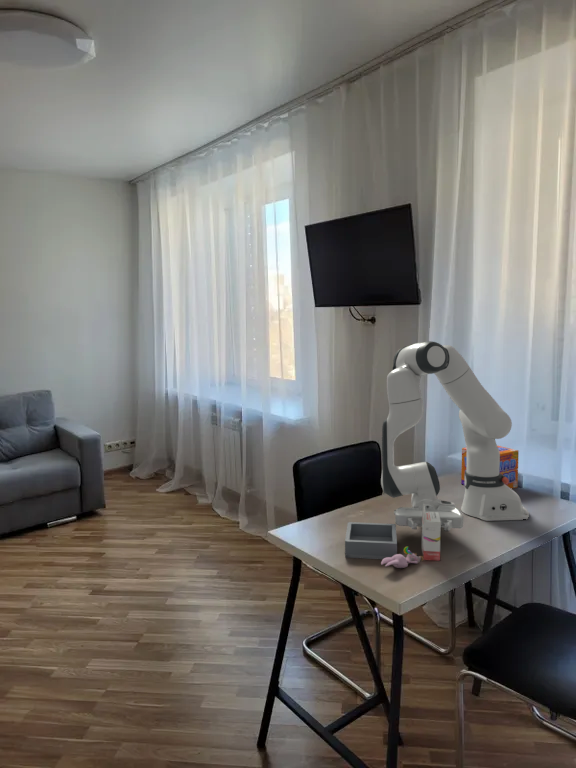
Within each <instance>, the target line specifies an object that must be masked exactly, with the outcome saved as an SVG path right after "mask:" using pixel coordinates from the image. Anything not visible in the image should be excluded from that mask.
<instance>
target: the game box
mask: <svg viewBox="0 0 576 768" xmlns="http://www.w3.org/2000/svg"><path fill="white" fill-rule="evenodd" d="M497 447H498V449H499V452H500V467H499V473H501V474H502V475H504V476H505V477H507V478H508V480H509V483H508V484H505V485H507V486H508V487H509V488H514V489H517V488H518V483H519V481H518V480H519V479H518V478H519V452H520V451H519V450H518V449H514V448H508V447H506V446H501V445H497ZM466 465H467V451H466V446H465V447H462V448H461V469H460V470H461V471H460V472H461V473H460V475H461V477H460V478H461V480H460V481H461V482H460V483H461V485H462V484H463V486H465V471H466Z"/></svg>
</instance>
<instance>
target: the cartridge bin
mask: <svg viewBox="0 0 576 768" xmlns="http://www.w3.org/2000/svg"><path fill="white" fill-rule="evenodd" d="M345 532H346V533H345V539H344V558H351V559H368V560H370V559H371V560H383V559H384V558H387V557H392V556H394V555H396V554H398V540H397V539H398V538H397V524H396V523H381V522H358V521H355V522H354V521H347V526H346V531H345Z"/></svg>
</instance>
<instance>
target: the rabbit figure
mask: <svg viewBox="0 0 576 768" xmlns="http://www.w3.org/2000/svg"><path fill="white" fill-rule="evenodd" d="M417 553H418V552H412V551H411V550H409V546H405V547H404V548H403V554H405V555H406V557H405V555H403V554H401V553H397V554H396V555H394V556H392V557H387V558H384V559H381V562H380V564H381V566H383V565H384V564H385V565H384V567H389V566H391V565H392V566H393V567H395V568H397V569H403V568H404V569H405V568H407V567H408V564H416V565H417V564H419V563H420V562H421V561H424V558H423V555H419V556H417V555H418V554H417Z"/></svg>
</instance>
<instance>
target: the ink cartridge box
mask: <svg viewBox="0 0 576 768" xmlns="http://www.w3.org/2000/svg"><path fill="white" fill-rule="evenodd" d="M441 529H442V528H441V521H440V516H439V513H438V512H425V505H424V503H423V511H422V527H421V553H422V556H423V561H436V562H437V561H440V560H441Z"/></svg>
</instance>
